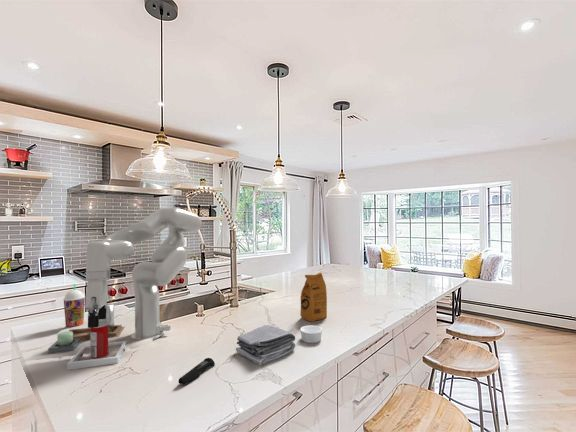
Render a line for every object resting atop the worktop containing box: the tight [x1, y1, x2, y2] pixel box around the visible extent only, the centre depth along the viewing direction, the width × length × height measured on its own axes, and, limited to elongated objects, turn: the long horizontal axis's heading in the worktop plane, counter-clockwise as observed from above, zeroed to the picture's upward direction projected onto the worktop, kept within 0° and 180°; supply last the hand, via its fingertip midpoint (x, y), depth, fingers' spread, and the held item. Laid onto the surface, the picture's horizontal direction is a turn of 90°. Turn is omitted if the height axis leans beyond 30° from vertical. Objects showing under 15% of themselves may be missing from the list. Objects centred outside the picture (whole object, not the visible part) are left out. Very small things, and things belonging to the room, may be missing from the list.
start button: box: [56, 330, 73, 346], centre depth 119 cm, size 5×5×4 cm
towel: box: [235, 324, 296, 366], centre depth 117 cm, size 15×18×8 cm
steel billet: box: [99, 302, 115, 332], centre depth 133 cm, size 6×6×12 cm
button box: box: [47, 338, 82, 354], centre depth 119 cm, size 8×8×3 cm
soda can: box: [89, 322, 109, 360], centre depth 113 cm, size 6×6×12 cm
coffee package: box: [299, 272, 328, 323], centre depth 155 cm, size 10×12×22 cm
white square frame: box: [67, 340, 127, 370], centre depth 113 cm, size 15×15×2 cm
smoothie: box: [63, 283, 86, 328], centre depth 145 cm, size 8×8×20 cm
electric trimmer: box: [178, 357, 216, 385], centre depth 100 cm, size 4×16×3 cm, turn 158°
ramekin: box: [300, 324, 323, 344], centre depth 128 cm, size 9×9×4 cm
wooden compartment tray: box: [68, 324, 125, 342], centre depth 132 cm, size 22×13×3 cm, turn 107°
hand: (97, 323), depth 113 cm, fingers open, 9 cm apart
